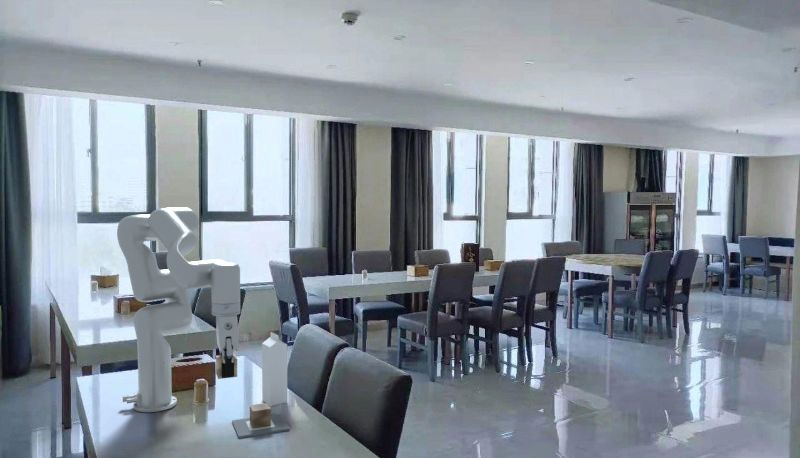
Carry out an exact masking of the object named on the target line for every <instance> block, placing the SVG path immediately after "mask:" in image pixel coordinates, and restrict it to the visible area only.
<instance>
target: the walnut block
mask: <svg viewBox="0 0 800 458" xmlns="http://www.w3.org/2000/svg"><path fill="white" fill-rule="evenodd" d="M271 411H272V408H271V406H269V405H268V404H267V403H265V402H263V403H256V404H251V405H249V418H250V424H251V426H252V428H253V429H254V428H261V427H267V426H271V415H272V414H271V413H272V412H271Z"/></svg>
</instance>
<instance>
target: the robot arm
mask: <svg viewBox="0 0 800 458" xmlns="http://www.w3.org/2000/svg"><path fill="white" fill-rule="evenodd" d="M199 221H200V220H199V217H198V215H197V214H196V212H195V211H194V210H193V209H191V208H189V207H161V208H158V209H154V210H153V211H152V212H151V213H150V214H149V213H148V214H145V213H143V214H141V213H140V214H139V213H138V214H132V215H127V216H125V217H123V218H122V219H121V220H119V223H118V225H117V230H116V231H117V232H116V237H117V241H118V242H117V243H118V245H119V248H120V250H121V252H122V253H123V256H124V258H125V260H126V266H127V270H128V275H129V279H130V284H131V288H132V289H131V290H132V293H133V296H134V298H135V300H137V301H138V302H139V303H140V302H142V303H148V302H155V301H161V300H162V301H163V300H167V302H166V303H165V302H164V303H157V304H151V305H146V306H143V307H141V308H140V309H138V310H137V311H136V312H135V314H134V316H133V327H134V331H135V337H136V342H137V343H136V344H137V345H136V346H137V375H138V376H137V377H138V379H137V381H138V382H137V383H138V389H137V392H136V393H133V394H131V395H129V394H127V395H122V403H126V404H133V405H132V406H133V410H134V411H136V412H140V413H157V412H161V411H162V412H163V411H165V410H170V409H171V408H174V407H175V406H176V405H177V403H178V399H177V397H176V396H173V394H172V392H173V391H172V386H173V385H172V351H171V350H172V348H171V345H170V344H169V343H168V341H167V340H166V339H165V337H164V335H168V334H172V333H177V332H180V331H185V330H187V329H188V328H190V326H191V325H192V322H193V311H192V306H191V302H190V297H189V292H188V291H189V290H198V289H203V288H204V289H205V288H210V289H211V290H210V291H211V294H210V295H211V296H210V297H211V315H212V316H213V317H215V326H216V328H215V329H216V330H215V331H216V333H215V334H216V345H217V347H218V350H219V355H222V358H223V363H222V378H223V379H228V378H227V377H231V378H235V377H234V359H233V354H234V351H236V352H238V351H239V350H240V348H239V347H240V344H239V323H238V315H240V314H241V267H240V265H239V264H238V263H236V262H227V261H226V260H222V259H206V260H205V259H204V260H196V261H188V260H187V259H186V258H185V257H186V256H187V255H188V254H190V253H191V252H192V251H193V250H194V249H195V248H196V245H197V243H198V242H197V241H198V239H197V235H196V234H195V233H196V232H197V230H198V228H199V225H200V224H199V223H200V222H199ZM156 241H157V242H158V241H160V242H161V243H162V244H163V246H164V247H165V248H166V249H167V250H168V251H167V253H166V266H167V268H166V269H160V268H159V267H158V261H157V258H156V254H155V253H154V251H152V250H151V248H150V247H148V245H146V244H145V243H144V242H156Z"/></svg>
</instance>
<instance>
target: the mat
mask: <svg viewBox="0 0 800 458" xmlns="http://www.w3.org/2000/svg"><path fill="white" fill-rule="evenodd" d="M231 423H232V426H233V428H234V431H235V433H236V436H237V438H238V439H244V438H249V437H256V436H261V435H262V436H263V435H267V434H269V435H270V434H274V433H281V432H282V433H283V432H287V431H290V427H289V425H288V423H287V422H286V421H285V419H284V417H283V416H282V414H281V413H280V412H279V413H274V414H273V413H272V414H271V426H267V427H261V428H254V429H253V428H252V426H251V424H250V417H246V418H238V419H233V420H232V421H231Z"/></svg>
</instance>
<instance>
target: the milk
mask: <svg viewBox="0 0 800 458" xmlns="http://www.w3.org/2000/svg"><path fill="white" fill-rule="evenodd" d="M261 360H262V361H261V363H262V364H261V365H262V368H261V369H262V370H261V374H262V375H261V376H262V377H261V378H262V379H261V382H262V384H261V385H262V387H261V390H262V393H261V394H262V402H263V403H267V404H268V405H269V407H273V406H277V405H282V404H287V403H288V343H285V342H283V341H281V340H280V337H279V334H278V335H277V334H276V333H274V332H270V337H268V338H267V339H266V340H264V341H263V342H262V343H261Z"/></svg>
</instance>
